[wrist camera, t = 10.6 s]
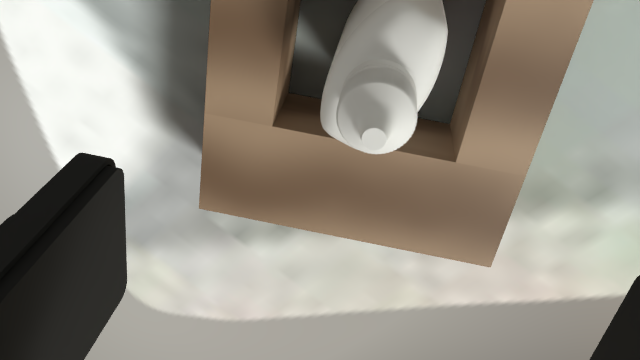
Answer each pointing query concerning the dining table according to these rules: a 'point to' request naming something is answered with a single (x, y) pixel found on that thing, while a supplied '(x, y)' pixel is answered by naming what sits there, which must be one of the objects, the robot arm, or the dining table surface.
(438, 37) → the eye dropper bottle
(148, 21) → the dining table surface
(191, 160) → the dining table surface
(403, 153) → the socket block
